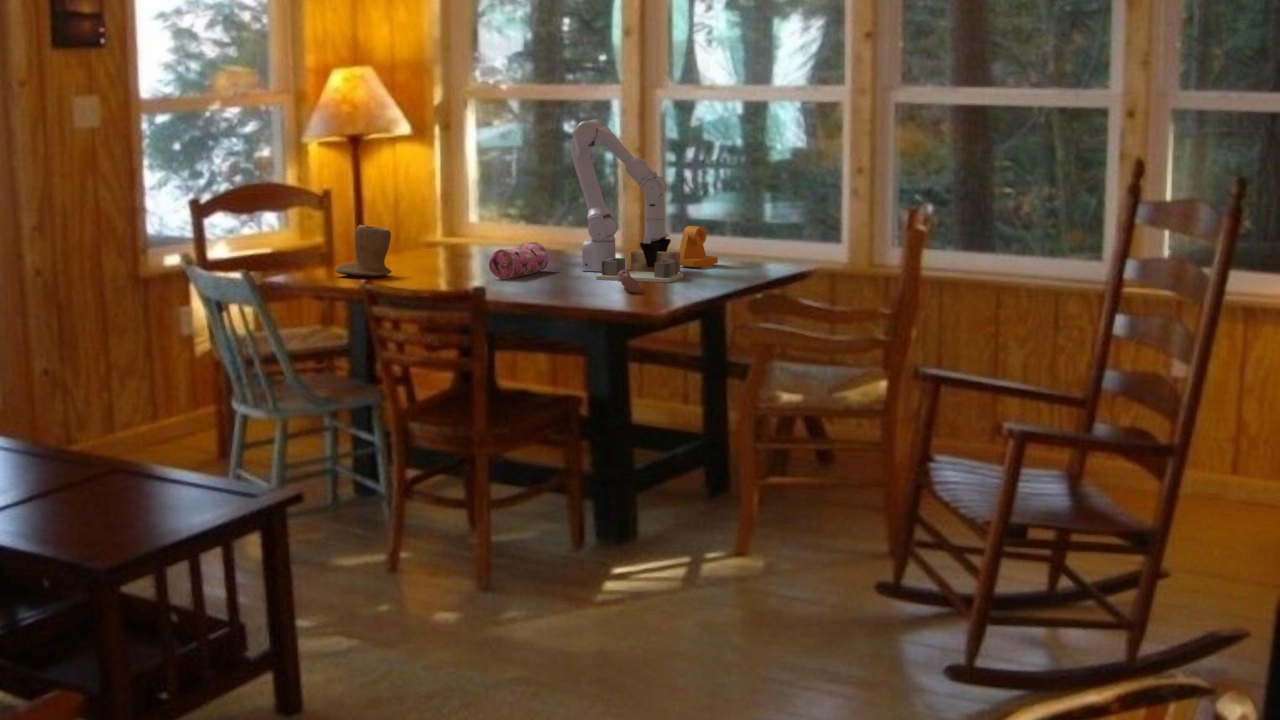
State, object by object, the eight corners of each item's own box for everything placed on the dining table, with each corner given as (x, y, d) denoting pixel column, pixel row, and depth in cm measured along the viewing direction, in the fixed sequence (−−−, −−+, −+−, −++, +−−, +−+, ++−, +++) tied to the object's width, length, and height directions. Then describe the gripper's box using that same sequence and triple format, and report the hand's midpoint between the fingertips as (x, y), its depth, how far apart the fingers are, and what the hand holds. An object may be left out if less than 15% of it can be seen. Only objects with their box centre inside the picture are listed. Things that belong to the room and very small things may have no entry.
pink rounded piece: (625, 294, 474) (613, 271, 473) (639, 286, 474) (627, 264, 473) (627, 299, 465) (615, 277, 463) (642, 291, 465) (630, 269, 463)
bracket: (696, 269, 510) (695, 229, 507) (677, 267, 514) (677, 227, 512) (719, 265, 518) (718, 225, 515) (700, 263, 522) (700, 224, 520)
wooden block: (631, 272, 506) (630, 252, 505) (635, 271, 509) (635, 250, 508) (676, 274, 501) (675, 253, 500) (680, 272, 504) (680, 252, 503)
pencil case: (523, 270, 514) (522, 240, 512) (550, 271, 510) (550, 241, 508) (486, 279, 495) (485, 249, 493) (515, 281, 491) (514, 250, 489)
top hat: (400, 274, 506) (399, 223, 503) (377, 280, 496) (374, 228, 493) (358, 272, 513) (356, 221, 510) (334, 277, 502) (331, 225, 499)
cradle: (596, 279, 492) (595, 261, 491) (611, 273, 503) (611, 256, 502) (668, 282, 484) (668, 264, 483) (683, 276, 495) (683, 259, 494)
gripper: (659, 221, 494) (660, 269, 497) (676, 216, 507) (677, 262, 510) (636, 221, 497) (637, 268, 499) (653, 216, 510) (654, 261, 512)
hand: (655, 265), depth 505 cm, fingers open, 7 cm apart
